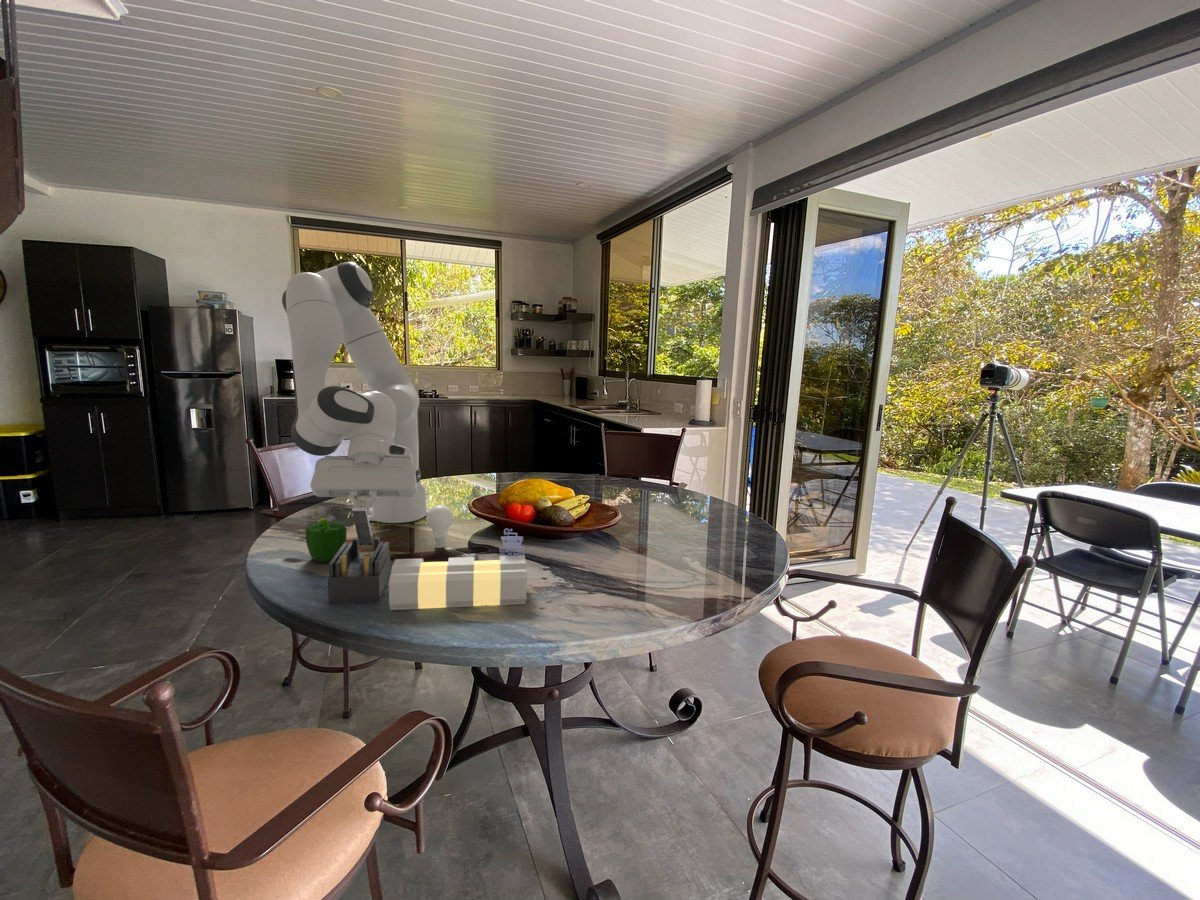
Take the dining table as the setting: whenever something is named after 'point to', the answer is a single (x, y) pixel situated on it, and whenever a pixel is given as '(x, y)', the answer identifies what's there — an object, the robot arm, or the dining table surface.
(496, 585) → the grey yellow striped block
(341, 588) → the dark grey slotted box
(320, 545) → the bell pepper
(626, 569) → the dining table surface
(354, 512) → the grey slab
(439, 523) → the lightbulb
